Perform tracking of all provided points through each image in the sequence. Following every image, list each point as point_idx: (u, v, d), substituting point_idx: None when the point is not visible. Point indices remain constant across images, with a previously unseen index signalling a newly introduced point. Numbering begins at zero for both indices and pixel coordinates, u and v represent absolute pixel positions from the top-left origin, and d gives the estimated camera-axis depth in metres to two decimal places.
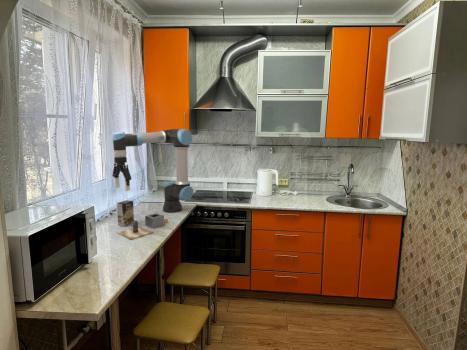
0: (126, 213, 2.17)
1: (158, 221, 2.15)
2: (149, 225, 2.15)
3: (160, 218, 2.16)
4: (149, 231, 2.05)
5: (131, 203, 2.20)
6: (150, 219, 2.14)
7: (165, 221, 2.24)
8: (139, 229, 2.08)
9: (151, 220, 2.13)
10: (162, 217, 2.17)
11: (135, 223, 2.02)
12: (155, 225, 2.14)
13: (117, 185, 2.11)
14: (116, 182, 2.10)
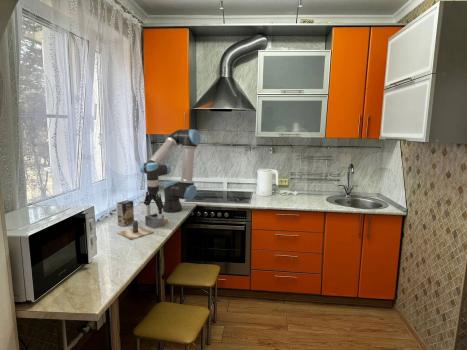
0: (126, 213, 2.17)
1: (158, 221, 2.15)
2: (149, 225, 2.15)
3: (160, 218, 2.16)
4: (149, 231, 2.05)
5: (131, 203, 2.20)
6: (150, 219, 2.14)
7: (165, 221, 2.24)
8: (139, 229, 2.08)
9: (151, 220, 2.13)
10: (162, 217, 2.17)
11: (135, 223, 2.02)
12: (155, 225, 2.14)
13: (148, 212, 2.22)
14: (147, 209, 2.21)
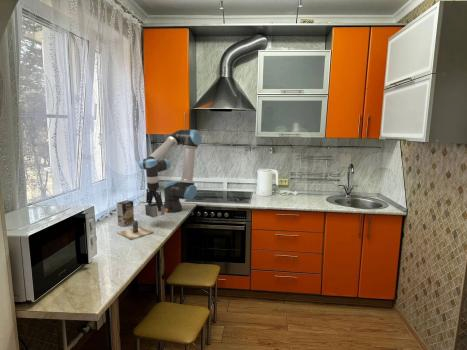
0: (126, 213, 2.17)
1: None
2: (149, 214, 2.15)
3: None
4: (149, 231, 2.05)
5: (131, 203, 2.20)
6: (150, 208, 2.13)
7: (165, 210, 2.23)
8: (139, 229, 2.08)
9: (151, 209, 2.12)
10: (162, 206, 2.17)
11: (135, 223, 2.02)
12: (155, 214, 2.13)
13: None
14: None
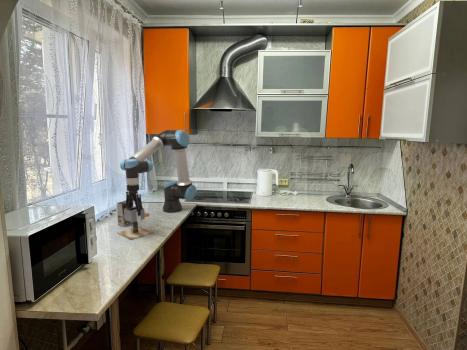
0: None
1: None
2: (128, 219, 1.99)
3: None
4: (149, 231, 2.05)
5: None
6: (129, 212, 1.97)
7: (146, 215, 2.07)
8: (139, 229, 2.08)
9: (130, 213, 1.96)
10: (142, 210, 2.01)
11: (135, 223, 2.02)
12: (134, 219, 1.97)
13: None
14: None
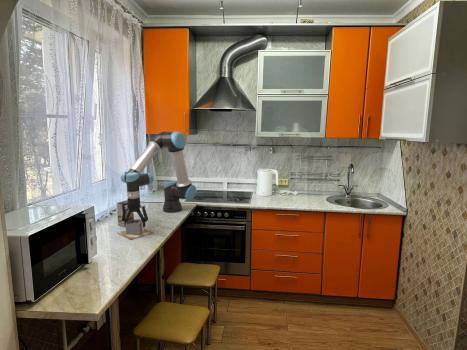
0: (126, 213, 2.17)
1: None
2: (133, 232, 1.99)
3: None
4: (149, 231, 2.05)
5: None
6: (135, 225, 1.98)
7: None
8: None
9: (137, 226, 1.98)
10: None
11: None
12: (140, 231, 2.00)
13: None
14: None
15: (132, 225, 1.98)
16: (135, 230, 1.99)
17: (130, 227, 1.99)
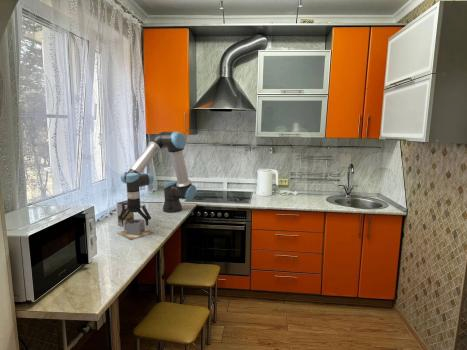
0: None
1: (142, 226, 2.03)
2: (133, 232, 1.99)
3: (143, 222, 2.04)
4: (149, 231, 2.05)
5: None
6: (135, 225, 1.98)
7: None
8: None
9: (137, 226, 1.98)
10: (143, 221, 2.06)
11: None
12: (140, 231, 2.00)
13: (125, 227, 2.04)
14: None
15: (132, 225, 1.98)
16: (135, 230, 1.99)
17: (130, 227, 1.99)
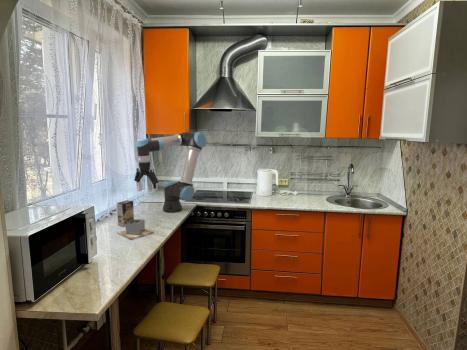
0: (126, 213, 2.17)
1: (142, 226, 2.03)
2: (133, 232, 1.99)
3: (143, 222, 2.04)
4: (149, 231, 2.05)
5: (131, 203, 2.20)
6: (135, 225, 1.98)
7: None
8: None
9: (137, 226, 1.98)
10: (143, 221, 2.06)
11: None
12: (140, 231, 2.00)
13: (140, 189, 2.22)
14: (139, 186, 2.21)
15: (132, 225, 1.98)
16: (135, 230, 1.99)
17: (130, 227, 1.99)
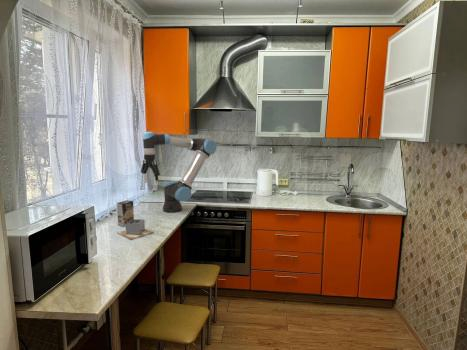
0: (126, 213, 2.17)
1: (142, 226, 2.03)
2: (133, 232, 1.99)
3: (143, 222, 2.04)
4: (149, 231, 2.05)
5: (131, 203, 2.20)
6: (135, 225, 1.98)
7: None
8: None
9: (137, 226, 1.98)
10: (143, 221, 2.06)
11: None
12: (140, 231, 2.00)
13: (145, 180, 2.31)
14: (144, 177, 2.30)
15: (132, 225, 1.98)
16: (135, 230, 1.99)
17: (130, 227, 1.99)
